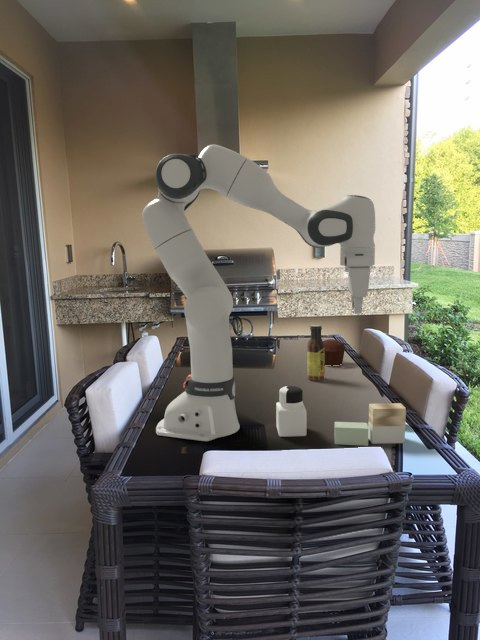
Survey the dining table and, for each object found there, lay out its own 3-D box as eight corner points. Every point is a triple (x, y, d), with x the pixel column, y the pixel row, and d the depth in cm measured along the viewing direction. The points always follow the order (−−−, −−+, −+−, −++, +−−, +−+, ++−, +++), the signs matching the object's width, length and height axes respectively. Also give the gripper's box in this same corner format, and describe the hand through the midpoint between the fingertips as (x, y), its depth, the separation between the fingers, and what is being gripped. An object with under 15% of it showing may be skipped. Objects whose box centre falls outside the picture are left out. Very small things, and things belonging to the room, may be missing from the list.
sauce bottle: (324, 382, 178) (324, 327, 175) (306, 381, 179) (306, 327, 176) (324, 377, 184) (325, 324, 181) (307, 376, 185) (307, 324, 182)
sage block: (334, 444, 123) (335, 427, 122) (334, 438, 127) (334, 421, 126) (368, 446, 122) (368, 428, 121) (366, 439, 126) (366, 422, 125)
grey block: (372, 443, 123) (372, 426, 122) (368, 437, 127) (368, 420, 126) (404, 443, 123) (405, 425, 122) (399, 437, 127) (400, 420, 126)
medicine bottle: (302, 426, 135) (302, 383, 133) (306, 436, 128) (306, 391, 126) (276, 427, 135) (275, 384, 133) (279, 437, 128) (278, 392, 126)
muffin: (344, 360, 209) (344, 337, 207) (347, 367, 198) (347, 342, 196) (315, 360, 210) (315, 337, 208) (317, 367, 199) (317, 342, 197)
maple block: (372, 426, 122) (373, 408, 121) (368, 420, 126) (369, 403, 125) (405, 426, 122) (405, 408, 121) (400, 420, 126) (400, 403, 125)
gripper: (343, 257, 141) (342, 305, 144) (347, 260, 121) (346, 316, 124) (366, 257, 140) (365, 305, 143) (373, 259, 121) (372, 316, 123)
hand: (356, 310), depth 133 cm, fingers open, 8 cm apart
